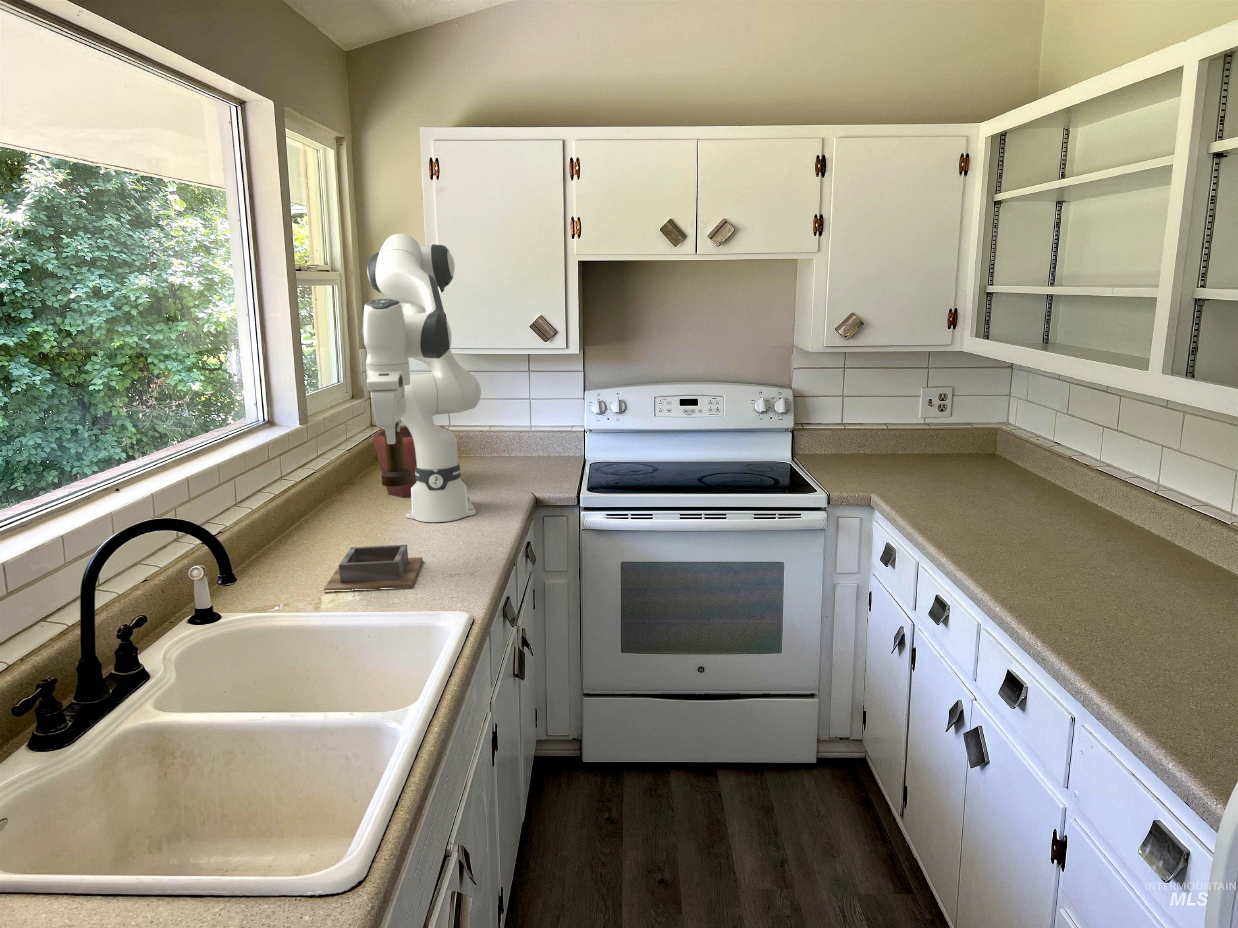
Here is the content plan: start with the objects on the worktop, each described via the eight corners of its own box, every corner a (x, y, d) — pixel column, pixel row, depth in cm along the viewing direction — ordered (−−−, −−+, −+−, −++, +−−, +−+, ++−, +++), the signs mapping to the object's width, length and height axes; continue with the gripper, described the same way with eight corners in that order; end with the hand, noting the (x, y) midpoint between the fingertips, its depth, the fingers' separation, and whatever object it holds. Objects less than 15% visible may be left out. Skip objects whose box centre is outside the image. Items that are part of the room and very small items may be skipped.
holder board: (342, 565, 201) (341, 544, 200) (422, 561, 202) (421, 540, 201) (324, 592, 183) (321, 570, 182) (411, 588, 185) (410, 565, 184)
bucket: (461, 495, 263) (456, 412, 257) (386, 505, 253) (379, 419, 248) (440, 479, 284) (435, 402, 279) (371, 487, 275) (364, 408, 270)
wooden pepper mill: (400, 478, 196) (393, 398, 192) (419, 482, 192) (412, 400, 188) (376, 484, 191) (368, 402, 187) (394, 488, 187) (387, 404, 183)
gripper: (381, 372, 196) (386, 433, 199) (364, 383, 176) (370, 450, 179) (410, 371, 197) (414, 432, 200) (397, 381, 177) (402, 449, 180)
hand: (393, 441), depth 189 cm, fingers closed on wooden pepper mill, 4 cm apart
